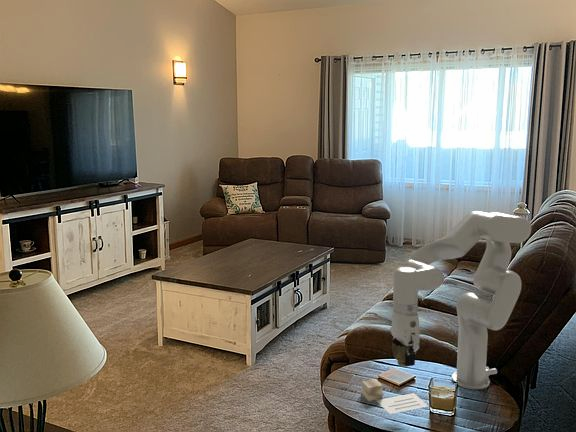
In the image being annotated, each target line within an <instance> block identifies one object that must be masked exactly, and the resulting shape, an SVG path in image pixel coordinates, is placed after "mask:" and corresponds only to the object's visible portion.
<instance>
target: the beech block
mask: <svg viewBox="0 0 576 432" xmlns="http://www.w3.org/2000/svg"><path fill="white" fill-rule="evenodd" d="M383 386H384V385H383V384H382V383H381V382H380V381H379V380H378V379H376V378H371V379H366V380H362V381H361V395H362V396H363V397H364V398H365V399H366V400H367V401H368V402H372V401H376V400H381V399H383V395H384V394H383V389H384V387H383Z"/></svg>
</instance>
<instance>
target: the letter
mask: <svg viewBox="0 0 576 432" xmlns="http://www.w3.org/2000/svg"><path fill="white" fill-rule="evenodd" d="M375 401H376V402H377V403H378V404H379V405H380V406H381V407H382V408H383V409H384V410H385V411H386V412H387V413H388V414H389V415H392V414H398V413H403V412H408V411H412V410H417V409H423V408H427V407H429V405H428V404H427V403H426V402H425V401H424V400H422V399H421V398H420V397H419V396H418V395H417V394H416V393H414V392H412V393H407V394H403V395H397V396H392V397H388V398H387V397H386V398H382V399H377V400H375Z"/></svg>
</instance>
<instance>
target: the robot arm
mask: <svg viewBox="0 0 576 432" xmlns="http://www.w3.org/2000/svg"><path fill="white" fill-rule="evenodd" d="M531 233H532V225H531V222H530V221H529V220H528V219H527V218H525V217H522V216H520V215H519V216H517V215H513V214H507V213H503V212H498V211H491V212H486V211H481V210H472V211H470V212H468V213H467V214H466V215H465V216H463V218H462V219H461V220H460V221H459V222H457V224H456V225H455V226H454V227H453V228H451V230H450V231H449V232H448V233H446V235H444V236H443V237H442V238H439V239H435V240H433V241H431V242H429V243H427V244H424V245H423V246H421V247H419V248H418V249H416V250H415V251H414V252H413V253H412V254H411V255H409V256H408V258H407V259H406V260H405V262H404V263H403V264H402V266H400V267H397V268H395V269H394V272H393V285H392V286H393V288H392V290H393V291H392V293H393V294H392V295H393V296H392V316H391V325H390V326H391V327H390V328H389V329H390V334H391V337H392V339H394V338H395V341H396V340H398V341H399V342H401V343H402V344H404V345H405V346H406V353H407V354H405V367H412V366H415V364H416V354H417V352H418V350H419V349H420V321H419V314H418V306H419V305H418V303H419V302H418V301H419V291H435V290H437V289H439V288H440V287H441V286H442V285H443V284H444V280H445V279H444V278H445V277H444V272H442V270H441V269H439V268H438V267H437V266H434V265H432V264H433V263H435V262H437V261H444V260H453V259H454V260H455V259H458V258H462V257H464V256H465V255H466V254H467V253H468V252H469V251H470V250H471V249H472V248H473V247H474V246H475V245H476V244H477V242H479V241H480V240H481V239H484V240H485V242H486V248H485V251H484V253H483V256H482V259H481V260H480V262H479V264H478V267H477V269H476V272H475V273H474V277H473V286H474V287H475V288H476V289H477V290H479V291H481V292H483V293H486V294H489V295H493V298H490V297H488V296H486V295H483V294H480V293H477V292H471V291H469V292H465V293H464V292H463V294H461V295H460V296H459V298H458V299H457V301H456V313H457V320H458V335H457V336H458V337H457V356H456V357H457V358H456V359H457V360H456V371H455V372H453V373H452V374H451V380H453V381H455V382H458V385H459V386H458V385H457V386H458V387H460V388H463V389H467V390H483V389H486V388H488V387H489V386H490V384H491V383H490V382H491V380H490V378H489V376H490V375H497V373H498V370H497V368H496V367H494V368H490V367H489V366H487V356H488V355H487V354H488V340H489V339H488V338H489V335H488V329H489V330H491V331H499V330H502V329H503V327H505V325H506V324H507V322H508V320H509V318H510V316H511V314H512V312H513V310H514V308H515V305H516V303H517V301H518V299H519V296H520V295H521V291H522V280H521V277H520V275H519V274H518V273H517V272H514V271H513V270H510V269H508V267H509V263H510V262H511V259H512V248H511V245H510V244H512V243H513V244H520V243H523V242H526V240H527V239H529V237H530V235H531ZM409 342H411V344H408V343H409ZM409 346H412V348H411V349H410V350H409ZM392 357H394V355H393V354H392ZM453 381H452V382H453Z"/></svg>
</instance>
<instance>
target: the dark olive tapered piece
mask: <svg viewBox="0 0 576 432" xmlns="http://www.w3.org/2000/svg"><path fill="white" fill-rule="evenodd" d="M391 341H392V342H391V345H392V356H393V355H394V356H393V357H394V358H395V360H396V362H397V365H398V366H399V367H406V366H405V354H407V353H406V346H405V345H404V344H402V343H401V342H399V341H398V340H396V341H395V338H394V339H393V338H392V339H391ZM408 344H411V342H409V343H408ZM411 348H412V346H409V350H410V349H411Z"/></svg>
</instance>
